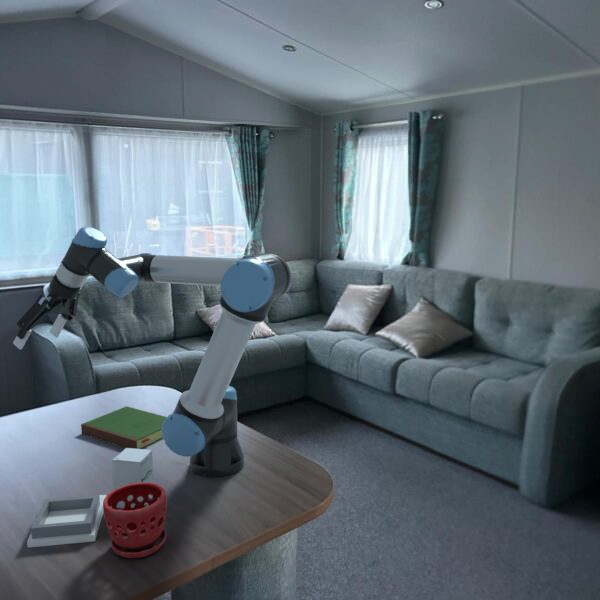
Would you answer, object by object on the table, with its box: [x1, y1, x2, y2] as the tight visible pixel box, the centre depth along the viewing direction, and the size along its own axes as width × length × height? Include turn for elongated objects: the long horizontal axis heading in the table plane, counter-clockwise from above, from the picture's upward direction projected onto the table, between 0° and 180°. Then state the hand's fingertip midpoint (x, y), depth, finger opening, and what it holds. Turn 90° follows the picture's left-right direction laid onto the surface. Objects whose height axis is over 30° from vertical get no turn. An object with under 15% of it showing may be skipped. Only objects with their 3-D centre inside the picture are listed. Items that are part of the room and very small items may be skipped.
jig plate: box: [26, 494, 107, 548], centre depth 139 cm, size 14×18×4 cm
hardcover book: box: [80, 405, 168, 449], centre depth 191 cm, size 25×19×4 cm
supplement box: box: [111, 448, 154, 509], centre depth 148 cm, size 7×7×13 cm
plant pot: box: [103, 482, 168, 559], centre depth 129 cm, size 13×13×12 cm
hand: (36, 340), depth 164 cm, fingers open, 13 cm apart
